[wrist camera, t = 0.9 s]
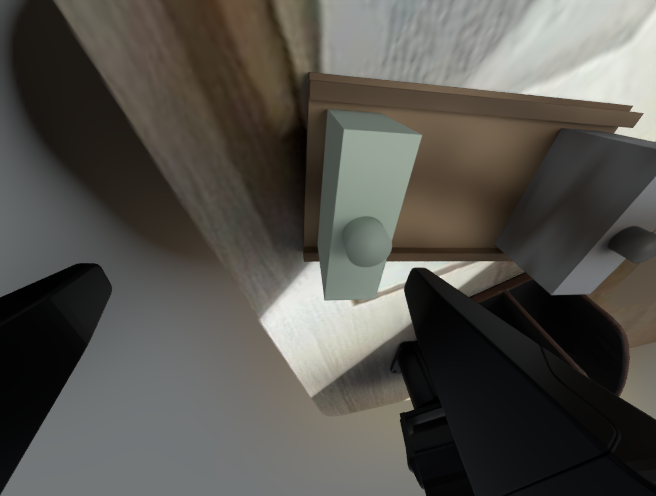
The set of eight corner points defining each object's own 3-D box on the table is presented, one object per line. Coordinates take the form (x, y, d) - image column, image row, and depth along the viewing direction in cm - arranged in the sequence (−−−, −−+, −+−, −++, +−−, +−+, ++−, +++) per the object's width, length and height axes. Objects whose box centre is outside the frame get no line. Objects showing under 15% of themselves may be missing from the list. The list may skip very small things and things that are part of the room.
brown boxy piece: (517, 251, 23) (603, 322, 17) (303, 250, 20) (307, 335, 14) (616, 104, 16) (830, 128, 10) (309, 72, 13) (322, 76, 7)
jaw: (356, 245, 19) (380, 315, 14) (317, 244, 18) (326, 317, 13) (381, 113, 14) (437, 142, 8) (327, 108, 13) (349, 136, 8)
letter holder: (484, 370, 38) (565, 500, 26) (450, 303, 27) (562, 473, 16) (553, 345, 35) (675, 476, 24) (546, 260, 24) (762, 425, 13)
